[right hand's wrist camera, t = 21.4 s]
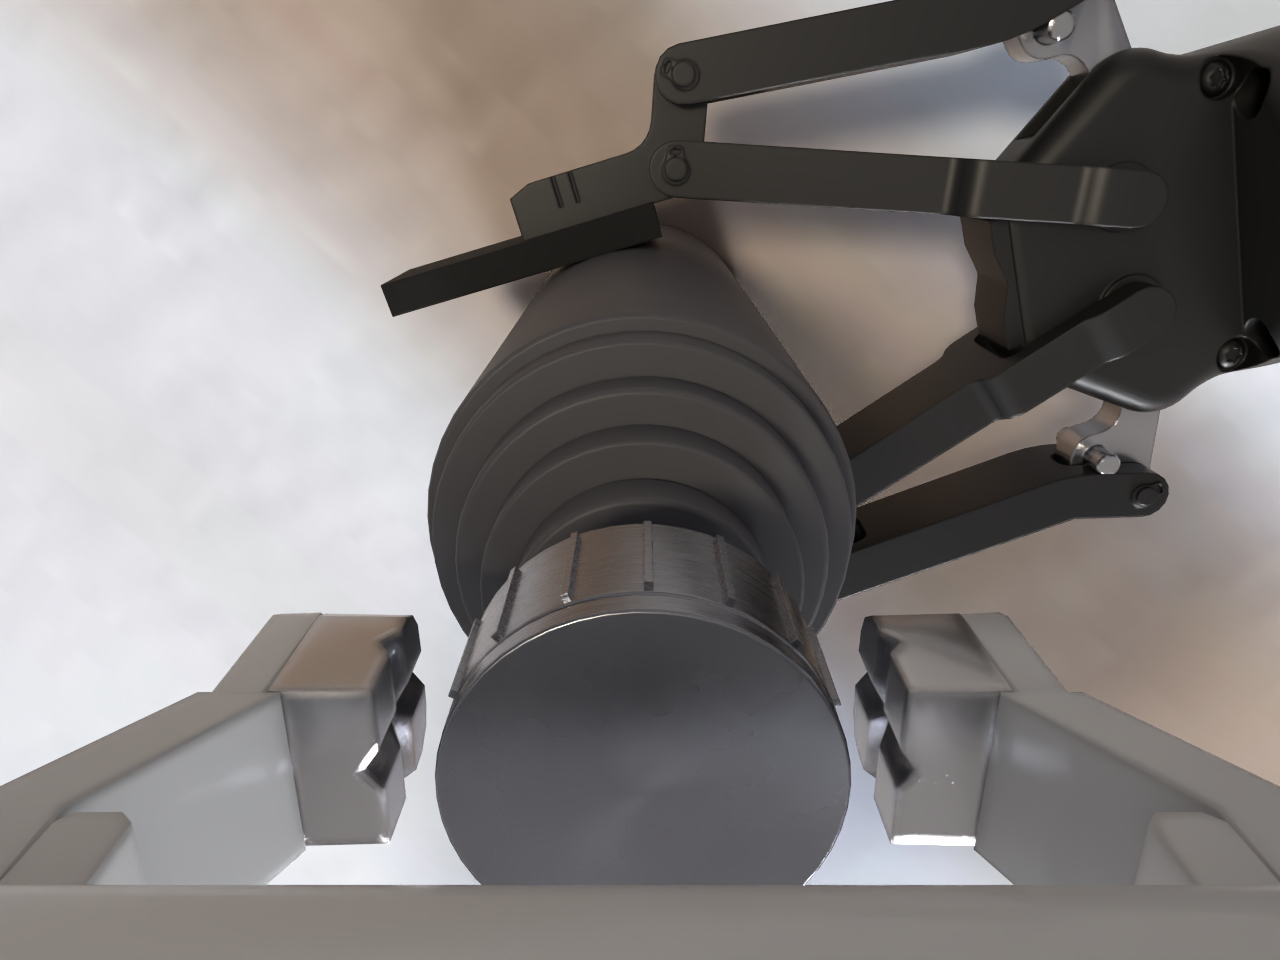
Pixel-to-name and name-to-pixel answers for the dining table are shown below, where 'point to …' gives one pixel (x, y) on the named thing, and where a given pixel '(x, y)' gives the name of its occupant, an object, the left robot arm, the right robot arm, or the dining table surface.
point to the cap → (643, 721)
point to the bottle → (642, 431)
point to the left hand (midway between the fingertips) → (455, 430)
